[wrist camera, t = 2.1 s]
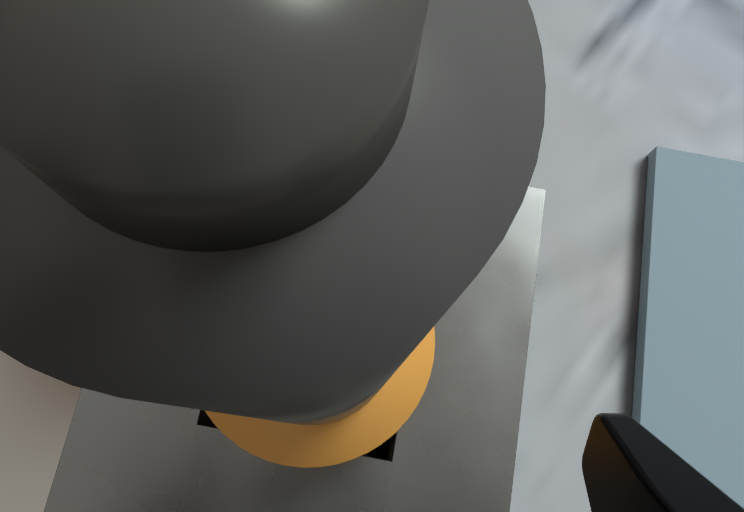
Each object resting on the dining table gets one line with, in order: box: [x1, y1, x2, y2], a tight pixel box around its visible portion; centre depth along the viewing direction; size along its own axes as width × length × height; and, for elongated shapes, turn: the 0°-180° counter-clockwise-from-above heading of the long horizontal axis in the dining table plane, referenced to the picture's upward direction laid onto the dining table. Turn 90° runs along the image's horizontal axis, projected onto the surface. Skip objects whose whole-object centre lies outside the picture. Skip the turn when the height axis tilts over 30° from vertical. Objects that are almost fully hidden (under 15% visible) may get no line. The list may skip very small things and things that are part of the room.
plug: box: [0, 0, 546, 468], centre depth 11 cm, size 6×6×17 cm
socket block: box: [44, 187, 545, 512], centre depth 19 cm, size 12×12×2 cm
